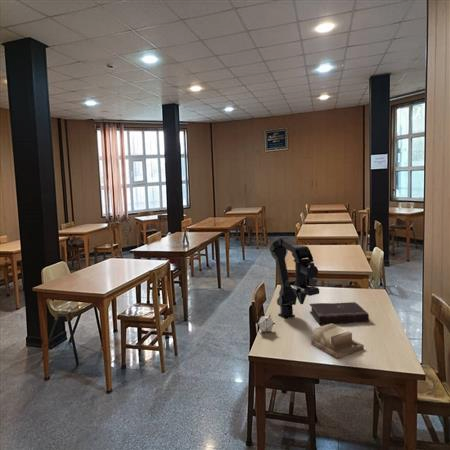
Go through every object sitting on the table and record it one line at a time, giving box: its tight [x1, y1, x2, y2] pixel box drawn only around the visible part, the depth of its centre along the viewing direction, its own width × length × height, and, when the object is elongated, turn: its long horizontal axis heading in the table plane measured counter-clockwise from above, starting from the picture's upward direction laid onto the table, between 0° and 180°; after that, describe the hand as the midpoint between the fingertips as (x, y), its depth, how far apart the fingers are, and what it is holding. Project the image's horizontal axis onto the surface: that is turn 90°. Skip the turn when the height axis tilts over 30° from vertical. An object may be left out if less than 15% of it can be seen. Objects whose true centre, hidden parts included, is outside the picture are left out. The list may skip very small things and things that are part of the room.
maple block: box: [314, 323, 353, 352], centre depth 161 cm, size 6×10×12 cm
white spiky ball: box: [257, 314, 276, 334], centre depth 176 cm, size 9×8×10 cm
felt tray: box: [310, 339, 365, 360], centre depth 159 cm, size 15×15×2 cm
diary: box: [309, 301, 370, 326], centre depth 191 cm, size 19×25×5 cm
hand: (301, 304), depth 178 cm, fingers closed
